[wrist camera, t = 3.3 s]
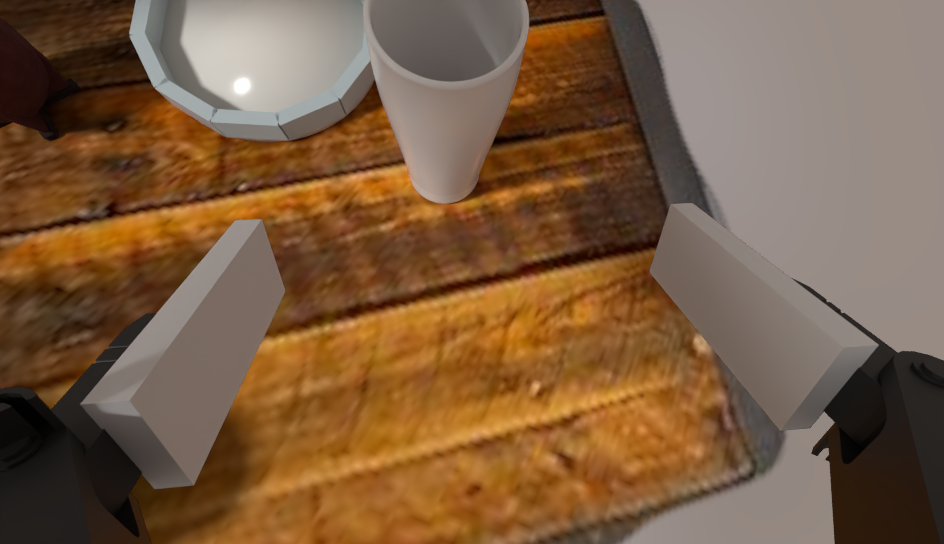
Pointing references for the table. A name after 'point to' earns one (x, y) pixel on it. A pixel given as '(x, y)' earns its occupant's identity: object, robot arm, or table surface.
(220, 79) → the dish
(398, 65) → the drinking glass
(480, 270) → the table surface
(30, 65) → the mate gourd
